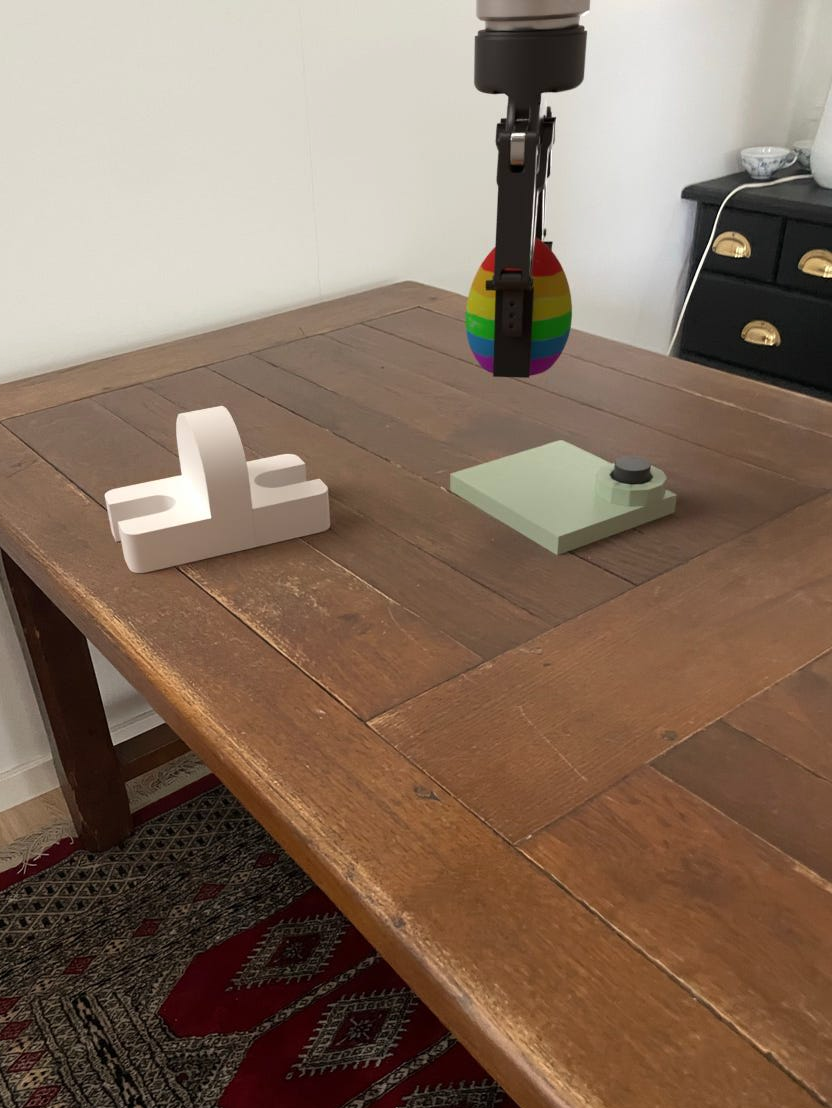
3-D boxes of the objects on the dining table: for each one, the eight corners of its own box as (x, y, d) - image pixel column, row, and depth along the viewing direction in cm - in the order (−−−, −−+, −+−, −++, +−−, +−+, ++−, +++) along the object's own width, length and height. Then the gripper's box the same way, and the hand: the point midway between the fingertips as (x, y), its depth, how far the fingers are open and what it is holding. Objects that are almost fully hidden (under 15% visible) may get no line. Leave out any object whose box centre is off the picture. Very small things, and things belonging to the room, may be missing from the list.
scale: (675, 513, 95) (680, 478, 93) (557, 556, 89) (560, 520, 87) (560, 456, 106) (563, 424, 104) (449, 491, 101) (450, 458, 99)
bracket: (296, 487, 103) (287, 376, 96) (334, 528, 95) (327, 411, 89) (109, 527, 97) (86, 413, 91) (132, 575, 89) (109, 453, 83)
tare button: (656, 480, 93) (658, 464, 92) (630, 489, 92) (632, 473, 91) (631, 468, 96) (633, 453, 95) (605, 477, 94) (607, 461, 93)
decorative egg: (468, 385, 79) (470, 249, 73) (462, 351, 85) (463, 225, 80) (575, 381, 78) (585, 244, 73) (560, 347, 85) (569, 220, 79)
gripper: (493, 17, 78) (486, 316, 91) (452, 37, 61) (450, 402, 74) (593, 12, 76) (572, 318, 89) (580, 32, 59) (556, 406, 72)
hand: (517, 356), depth 81 cm, fingers closed on decorative egg, 8 cm apart
